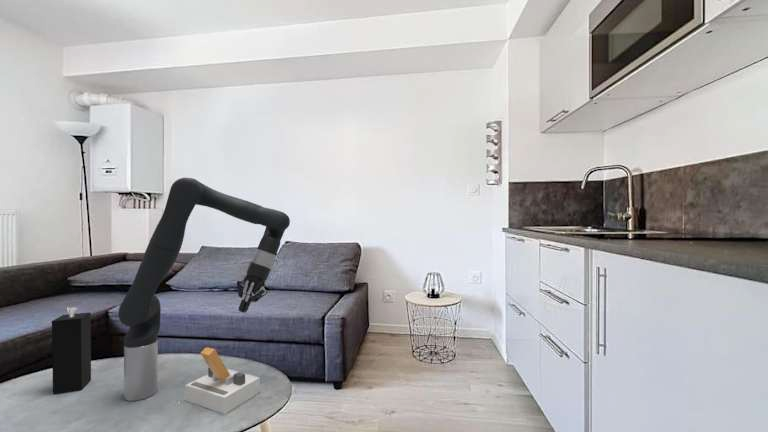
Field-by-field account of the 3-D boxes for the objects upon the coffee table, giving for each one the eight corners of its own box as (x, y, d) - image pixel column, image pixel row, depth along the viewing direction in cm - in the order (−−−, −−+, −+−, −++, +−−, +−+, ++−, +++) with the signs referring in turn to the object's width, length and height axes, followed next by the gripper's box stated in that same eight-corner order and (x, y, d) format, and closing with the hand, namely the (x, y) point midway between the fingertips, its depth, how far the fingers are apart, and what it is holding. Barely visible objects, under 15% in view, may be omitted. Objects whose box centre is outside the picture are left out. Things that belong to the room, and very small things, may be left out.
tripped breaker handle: (217, 380, 114) (200, 353, 108) (222, 374, 116) (206, 347, 110) (226, 382, 112) (208, 355, 107) (231, 376, 114) (214, 349, 109)
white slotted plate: (185, 400, 111) (185, 375, 111) (222, 381, 124) (222, 359, 124) (224, 414, 104) (224, 387, 103) (259, 392, 116) (259, 368, 116)
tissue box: (81, 390, 118) (80, 308, 118) (52, 394, 115) (51, 311, 115) (91, 380, 125) (90, 303, 125) (63, 384, 122) (63, 305, 122)
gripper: (240, 257, 123) (220, 305, 119) (269, 266, 118) (249, 317, 114) (254, 262, 130) (235, 307, 126) (281, 271, 125) (263, 318, 121)
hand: (241, 311), depth 120 cm, fingers closed
